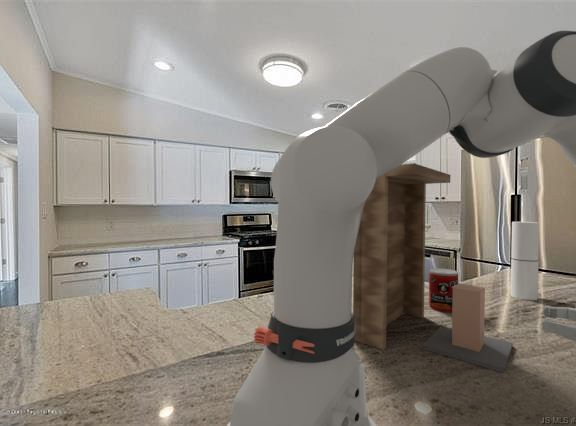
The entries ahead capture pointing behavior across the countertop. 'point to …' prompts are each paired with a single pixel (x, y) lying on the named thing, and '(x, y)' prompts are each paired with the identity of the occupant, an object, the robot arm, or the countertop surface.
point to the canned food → (442, 288)
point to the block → (468, 316)
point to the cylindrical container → (525, 260)
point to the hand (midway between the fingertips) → (543, 317)
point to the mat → (489, 356)
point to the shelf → (391, 252)
